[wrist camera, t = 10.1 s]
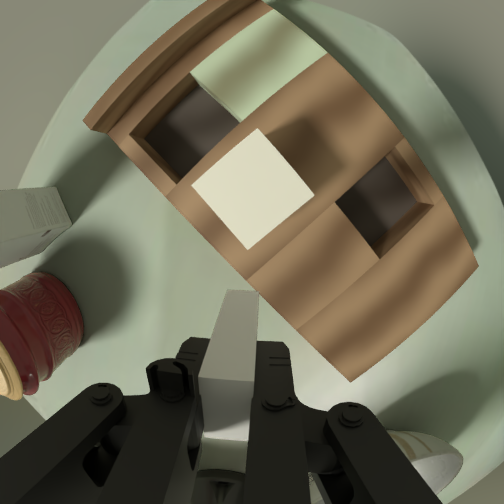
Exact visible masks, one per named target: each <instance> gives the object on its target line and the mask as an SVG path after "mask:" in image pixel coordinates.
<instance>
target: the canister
mask: <svg viewBox="0 0 504 504" xmlns="http://www.w3.org/2000/svg"><path fill="white" fill-rule="evenodd" d="M83 333H84V327H83V320H82V316H81V313H80V310H79V307H78V305H77V303H76V301H75V299H74V297H73V296H72V294H71V293H70V291H69V290H68V289H67V288H66V286H65V285H64V284H63V283H62V282H61V281H60V280H58V279H57V278H56V277H54V276H53V275H51V274H49V273H46V272H36V273H30V274H27V275H25V276H23V277H22V278H21V279H20V280H18V281H16V282H15V283H13V284H11V285H9V286H7V287H5V288H3V289H1V290H0V395H3V396H6V397H8V398H10V399H12V400H19V399H21V398H22V396H23V394H24V395H33V394H35V393H36V392H37V391H38V388H39V382H41V381H46V380H48V379H49V378H50V377H51V375H52V373H53V372H54V371H55V370H56V369H57V368H58V367H59V366H60V365H61V363H62V362H63V361H64V360H65V359H66V358H68V357H70V356H71V355H72V354H73V353H74V352H75V351H76V350H77V348H78V346H79V344H80V343H81V341H82V338H83Z"/></svg>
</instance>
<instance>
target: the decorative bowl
mask: <svg viewBox="0 0 504 504" xmlns="http://www.w3.org/2000/svg"><path fill="white" fill-rule="evenodd" d="M386 431H387V432H388V434H389V435H390V436H391V437H392V439H393V440H394V441H395V443H396V444H397V445H398V447H399V448H400V449H401V450H402V452H403V453H404V454H405V456H406V457H407V458H408V460H409V461H410V462H411V463H412V465H413V466H414V467H415V469H416V470H417V471H418V472H419V474H420V475H421V476H422V478H423V479H424V480H425V482H426V483H427V484H428V485H429V487H430V488H431V489H432V491H433V492H434V493H435V494H436V495H437V494H438V493H439V492H441V491H442V490H443V489H444V488H445V487H446V486H447V485H448V484H449V483H450V482H451V481H452V480H453V479H454V478H455V477H456V475H457V474H458V473H459V471H460V469H461V467H462V465H463V456H462V454H461V453H460V452H459V451H458V450H457V449H456V448H454V447H453V446H452V445H450V444H449V443H447V442H445V441H444V440H442V439H439V438H437V437H435V436H432V435H429V434H425V433H420V432H412V431H399V432H397V431H394V430H386ZM309 487H310V497H311V504H325V503H324V501H323V498H322V496H321V494H320V492H319V490H318V488H317V486H316V483H315V481H314V480H313V481H312V483H311V484H310V486H309Z"/></svg>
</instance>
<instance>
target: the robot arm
mask: <svg viewBox="0 0 504 504" xmlns="http://www.w3.org/2000/svg"><path fill="white" fill-rule="evenodd" d="M258 305H259V291H245V290H227V292H226V295H225V298H224V300H223V303H222V306H221V309H220V312H219V315H218V318H217V321H216V324H215V327H214V330H213V333H212V336H211V339H208V338H197V337H190V338H189V339H187V340H186V341H185V342H183V343H182V345H181V347H180V349H179V353H177V355H176V359H175V358H165V359H160V360H156V361H154V362H152V363H150V364H149V365H148V366H147V367H146V373H147V378H148V382H149V387H150V392H149V394H145V395H131V396H123V393H122V392H121V390H120V388H118V387H117V386H115V385H113V384H110V383H97V384H93V385H91V386H89V387H87V388H86V389H85V390H83V391H82V392H81V393H80V394H78V395H77V396H76V397H75V398H73V399H72V400H71V401H70V402H69V403H67V404H66V405H65V406H64V407H62V408H61V409H60V410H59V411H58V412H56V413H55V414H54V415H53V416H51V417H50V418H49V419H48V420H46V421H45V422H44V423H43V424H42V425H40V426H39V427H38V428H37V429H35V430H34V431H33V432H32V433H31V434H29V435H28V436H27V437H26V438H24V439H23V440H22V441H21V442H19V443H18V444H17V445H16V446H14V447H13V448H12V449H11V450H10V451H9V452H7V453H6V454H5V455H3V456H2V457H1V458H0V504H311V497H310V487H309V477H308V472H311V475H312V477H313V479H314V481H315V483H316V486H317V488H318V490H319V492H320V494H321V496H322V498H323V501H324V503H325V504H442V502H441V501H440V500H439V498H438V497H437V496H436V494H435V493H434V492H433V491H432V489H431V488H430V487H429V485H428V484H427V483H426V482H425V480H424V479H423V478H422V476H421V475H420V474H419V472H418V471H417V470H416V469H415V467H414V466H413V465H412V463H411V462H410V461H409V460H408V458H407V457H406V456H405V454H404V453H403V452H402V450H401V449H400V448H399V447H398V445H397V444H396V443H395V441H394V440H393V439H392V437H391V436H390V435H389V434H388V432H387V431H386V430H385V428H384V427H383V426H382V424H381V423H380V422H379V421H378V419H377V418H376V417H375V415H374V414H373V413H372V412H371V411H370V410H369V409H368V408H367V407H366V406H363V405H361V404H359V403H353V402H344V403H339V404H337V405H335V406H333V407H332V408H331V409H330V410H329V411H328V412H327V411H322V410H317V409H313V408H310V407H308V406H306V405H304V404H302V403H301V402H300V401H299V400H298V398H297V397H296V395H295V392H294V384H293V376H292V368H291V360H290V352H289V348H288V347H287V346H286V345H285V344H284V343H283V342H274V341H257V326H258ZM203 430H204V437H207V438H216V439H226V440H238V441H248V449H247V461H246V474H241V473H237V472H232V471H225V470H203V471H198V472H197V470H198V466H199V461H200V457H201V452H202V443H201V438H202V433H203Z"/></svg>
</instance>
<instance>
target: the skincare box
mask: <svg viewBox="0 0 504 504" xmlns="http://www.w3.org/2000/svg"><path fill="white" fill-rule="evenodd" d="M71 225H72V222H71V220H70V218H69V216H68V214H67V211H66V209H65V207H64V205H63V202H62V200H61V197H60V195H59V193H58V190H57V188H56V187H41V188H25V189H11V190H0V268H2V267H5V266H7V265H10V264H12V263H15V262H18V261H20V260H23V259H26V258H29V257H31V256H34V255H37V254H40V253H41V252H42V251H43V250H44V249H45V248H46V247H47V246H48V245H49V244H50V243H51V242H52V241H53V240H54V239H55V238H56V237H57V236H59V235H60V234H61V233H62V232H64V231H65V230H66V229H68V228H69V227H70V226H71Z"/></svg>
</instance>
